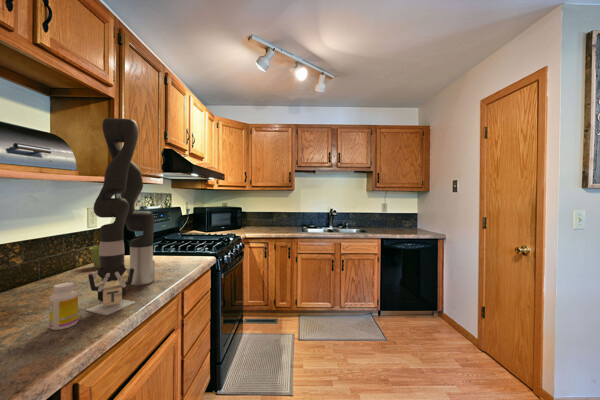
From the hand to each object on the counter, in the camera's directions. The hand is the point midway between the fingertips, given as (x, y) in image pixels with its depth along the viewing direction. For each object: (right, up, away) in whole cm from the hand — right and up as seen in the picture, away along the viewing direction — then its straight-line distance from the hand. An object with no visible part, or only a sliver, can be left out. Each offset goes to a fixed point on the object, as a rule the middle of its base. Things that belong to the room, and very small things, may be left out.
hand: (111, 298), depth 97 cm
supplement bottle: (-5, -3, -14) cm, 15 cm away
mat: (0, -3, 0) cm, 3 cm away
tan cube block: (0, -1, 0) cm, 1 cm away
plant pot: (-44, -2, +54) cm, 70 cm away
